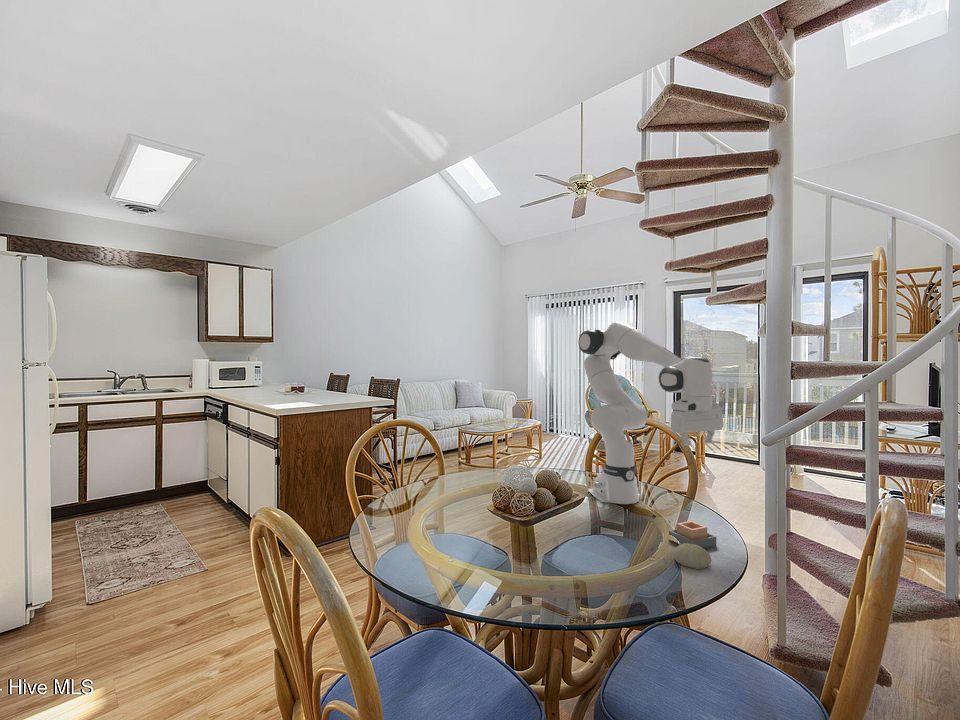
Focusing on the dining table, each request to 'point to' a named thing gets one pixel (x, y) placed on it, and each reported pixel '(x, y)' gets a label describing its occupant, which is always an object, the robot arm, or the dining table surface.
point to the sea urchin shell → (692, 556)
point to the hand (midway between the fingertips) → (697, 444)
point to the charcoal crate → (703, 543)
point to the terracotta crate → (692, 530)
